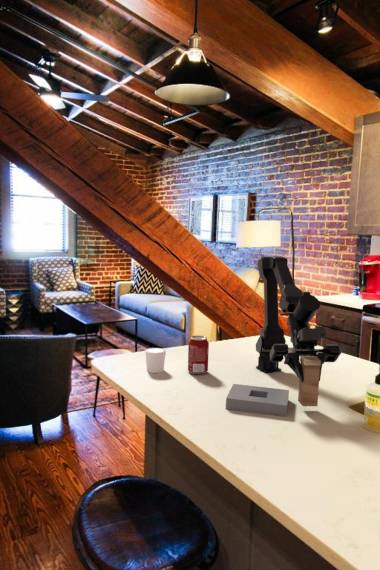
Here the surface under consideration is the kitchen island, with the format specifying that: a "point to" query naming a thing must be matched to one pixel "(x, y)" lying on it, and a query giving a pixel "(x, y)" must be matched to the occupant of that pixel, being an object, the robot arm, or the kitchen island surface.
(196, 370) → the soda can
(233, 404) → the socket board
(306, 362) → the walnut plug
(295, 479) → the kitchen island surface
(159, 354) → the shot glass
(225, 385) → the kitchen island surface
